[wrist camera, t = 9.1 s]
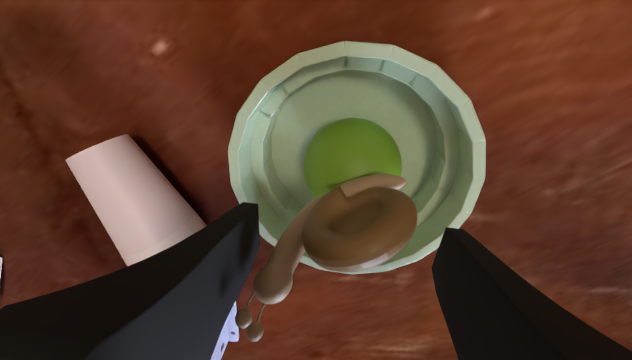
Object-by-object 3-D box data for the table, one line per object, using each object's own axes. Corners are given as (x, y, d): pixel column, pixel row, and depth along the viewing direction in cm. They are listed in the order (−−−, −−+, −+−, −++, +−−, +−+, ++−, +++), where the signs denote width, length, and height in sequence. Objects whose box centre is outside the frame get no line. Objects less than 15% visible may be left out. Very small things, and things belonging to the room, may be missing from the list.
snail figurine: (283, 136, 18) (184, 274, 8) (375, 92, 16) (415, 194, 6) (320, 201, 20) (282, 383, 10) (407, 169, 18) (480, 352, 8)
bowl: (426, 240, 21) (442, 287, 17) (257, 218, 22) (236, 258, 18) (487, 50, 15) (534, 55, 11) (251, 32, 16) (216, 30, 12)
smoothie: (21, 180, 17) (157, 338, 21) (64, 152, 14) (212, 344, 18) (120, 143, 22) (212, 275, 26) (166, 116, 19) (262, 271, 23)
